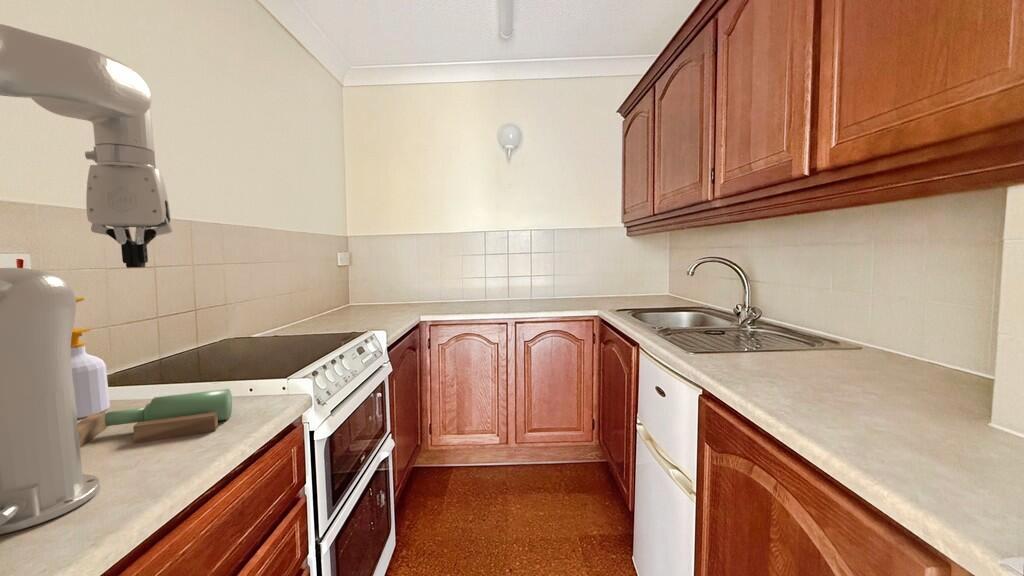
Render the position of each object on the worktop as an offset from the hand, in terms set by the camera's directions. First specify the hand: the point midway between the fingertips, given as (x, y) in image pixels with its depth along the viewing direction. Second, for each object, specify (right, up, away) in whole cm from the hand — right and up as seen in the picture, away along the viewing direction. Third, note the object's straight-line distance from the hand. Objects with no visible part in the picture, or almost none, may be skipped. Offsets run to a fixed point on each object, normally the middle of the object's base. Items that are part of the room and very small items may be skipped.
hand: (136, 267), depth 74 cm
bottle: (+8, -27, +12) cm, 31 cm away
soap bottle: (-26, -30, +16) cm, 43 cm away
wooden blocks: (-2, -31, +7) cm, 32 cm away
